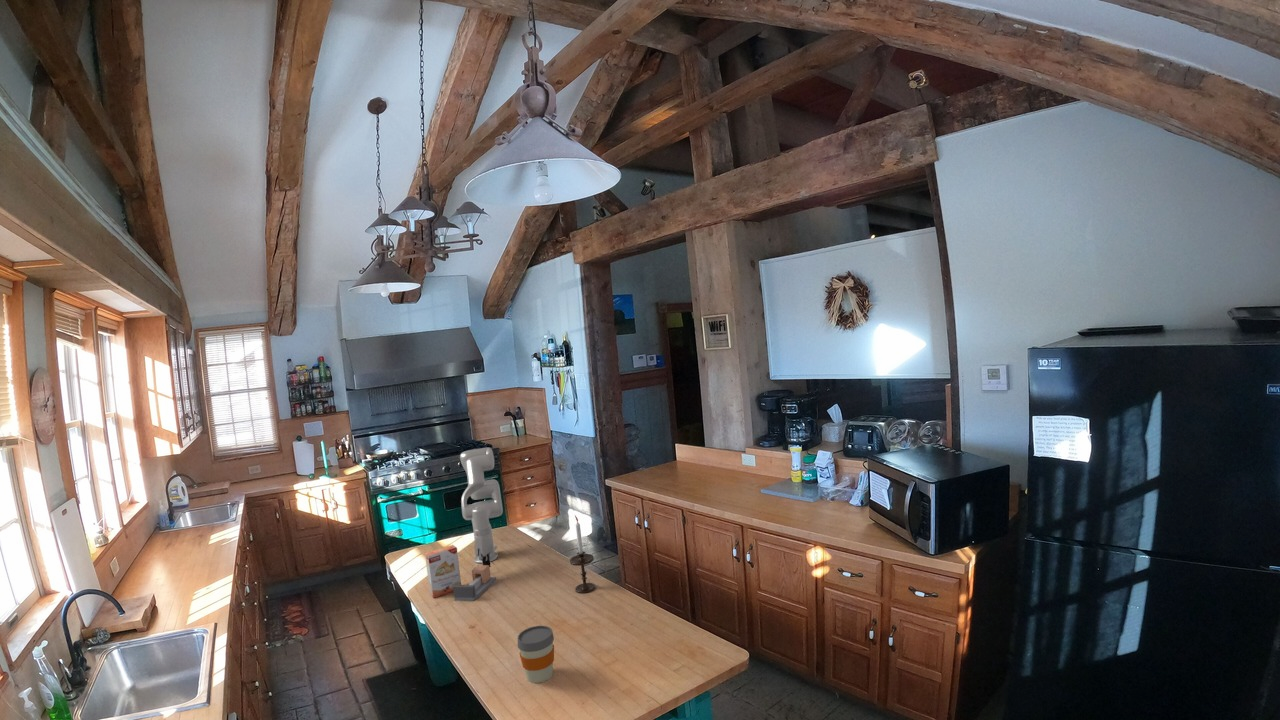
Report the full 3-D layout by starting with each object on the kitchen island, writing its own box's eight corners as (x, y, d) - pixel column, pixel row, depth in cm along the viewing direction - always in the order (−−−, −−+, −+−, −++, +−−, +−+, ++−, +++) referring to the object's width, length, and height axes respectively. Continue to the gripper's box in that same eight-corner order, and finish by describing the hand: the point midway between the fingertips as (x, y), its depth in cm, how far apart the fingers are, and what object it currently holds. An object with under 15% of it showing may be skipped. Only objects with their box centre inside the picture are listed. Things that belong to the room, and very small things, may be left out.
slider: (479, 578, 302) (477, 565, 301) (490, 578, 300) (489, 565, 300) (473, 583, 296) (471, 570, 296) (484, 583, 294) (483, 570, 294)
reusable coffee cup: (559, 663, 220) (554, 623, 219) (556, 683, 208) (550, 641, 207) (524, 667, 220) (519, 627, 219) (519, 688, 207) (513, 646, 206)
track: (478, 579, 304) (477, 567, 304) (496, 579, 302) (495, 567, 301) (454, 600, 283) (452, 587, 283) (473, 600, 280) (472, 587, 280)
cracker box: (433, 598, 288) (427, 555, 286) (429, 595, 293) (424, 552, 291) (462, 588, 296) (457, 546, 294) (458, 585, 301) (453, 543, 299)
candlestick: (570, 594, 276) (561, 519, 274) (578, 583, 287) (569, 511, 285) (592, 594, 274) (584, 518, 271) (600, 583, 284) (591, 510, 282)
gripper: (483, 526, 310) (487, 561, 311) (467, 537, 296) (472, 574, 297) (496, 526, 308) (500, 561, 310) (481, 537, 294) (486, 574, 295)
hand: (486, 567), depth 303 cm, fingers closed
